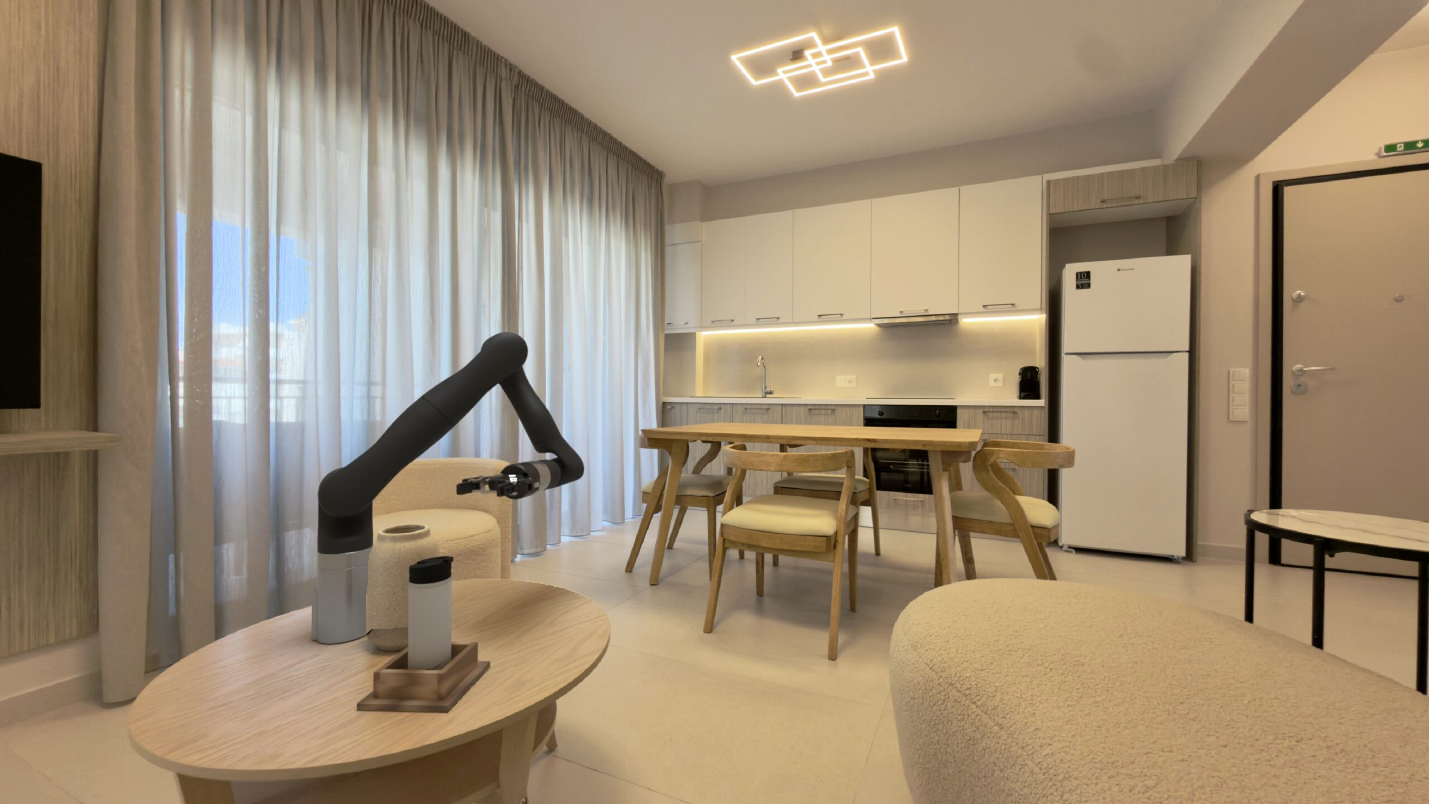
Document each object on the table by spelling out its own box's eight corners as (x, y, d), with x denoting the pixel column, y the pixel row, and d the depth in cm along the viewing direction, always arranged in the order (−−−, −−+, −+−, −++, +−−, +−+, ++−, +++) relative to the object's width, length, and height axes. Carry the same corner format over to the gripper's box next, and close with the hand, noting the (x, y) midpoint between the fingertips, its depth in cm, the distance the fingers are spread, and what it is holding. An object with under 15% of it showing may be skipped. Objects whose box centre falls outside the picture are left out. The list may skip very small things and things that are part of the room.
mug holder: (356, 710, 81) (357, 676, 81) (412, 665, 95) (412, 637, 95) (448, 712, 80) (448, 678, 81) (490, 667, 94) (490, 638, 95)
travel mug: (440, 690, 85) (441, 563, 85) (399, 690, 85) (400, 563, 85) (460, 671, 91) (461, 552, 91) (421, 670, 91) (422, 552, 91)
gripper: (496, 461, 118) (445, 469, 103) (555, 462, 115) (512, 471, 100) (496, 495, 118) (444, 508, 102) (555, 497, 115) (512, 512, 100)
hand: (478, 490), depth 101 cm, fingers open, 8 cm apart
